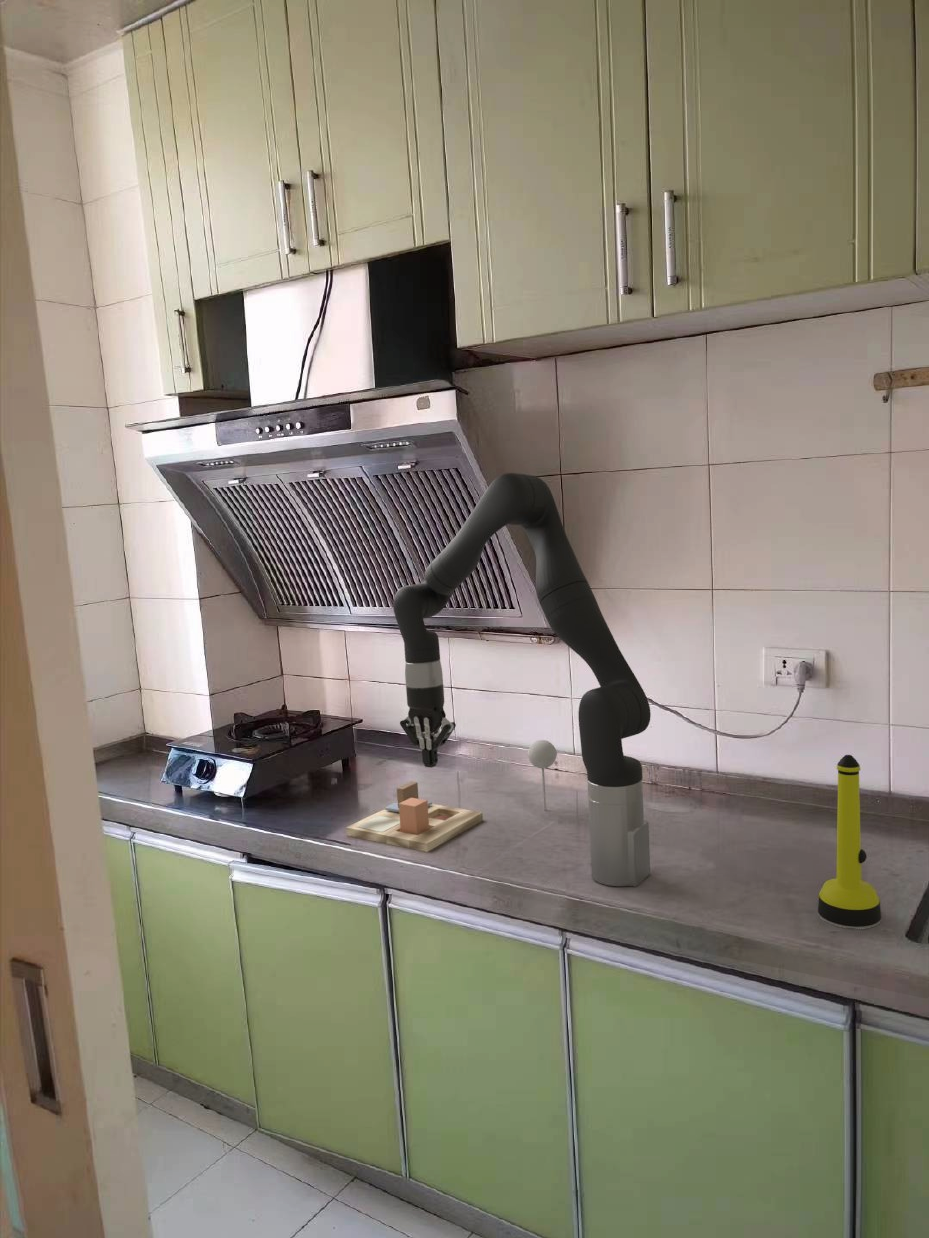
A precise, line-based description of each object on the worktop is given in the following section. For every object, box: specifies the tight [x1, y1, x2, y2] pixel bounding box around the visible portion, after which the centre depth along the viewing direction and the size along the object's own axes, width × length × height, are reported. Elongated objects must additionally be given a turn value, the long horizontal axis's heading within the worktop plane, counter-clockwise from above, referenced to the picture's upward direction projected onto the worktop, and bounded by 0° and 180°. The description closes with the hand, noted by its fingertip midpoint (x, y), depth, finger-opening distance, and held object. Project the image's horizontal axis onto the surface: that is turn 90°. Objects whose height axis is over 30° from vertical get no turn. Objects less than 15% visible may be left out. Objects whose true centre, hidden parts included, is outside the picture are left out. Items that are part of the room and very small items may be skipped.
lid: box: [384, 781, 433, 812], centre depth 196 cm, size 7×7×5 cm
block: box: [399, 798, 429, 835], centre depth 184 cm, size 4×4×7 cm
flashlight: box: [817, 754, 882, 930], centre depth 140 cm, size 25×9×9 cm
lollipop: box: [527, 739, 558, 811], centre depth 195 cm, size 6×6×15 cm
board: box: [345, 803, 484, 853], centre depth 189 cm, size 20×19×2 cm
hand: (430, 766), depth 191 cm, fingers closed
